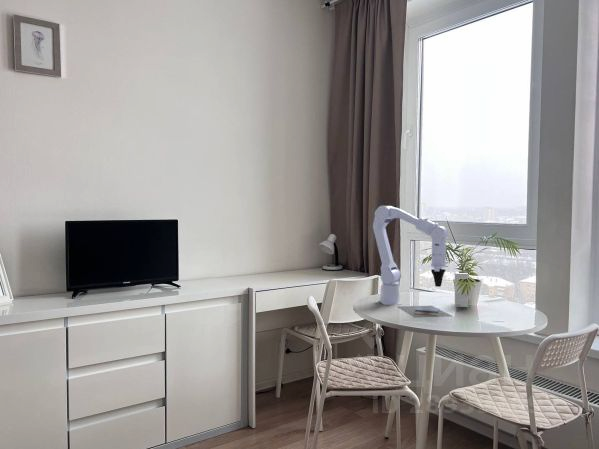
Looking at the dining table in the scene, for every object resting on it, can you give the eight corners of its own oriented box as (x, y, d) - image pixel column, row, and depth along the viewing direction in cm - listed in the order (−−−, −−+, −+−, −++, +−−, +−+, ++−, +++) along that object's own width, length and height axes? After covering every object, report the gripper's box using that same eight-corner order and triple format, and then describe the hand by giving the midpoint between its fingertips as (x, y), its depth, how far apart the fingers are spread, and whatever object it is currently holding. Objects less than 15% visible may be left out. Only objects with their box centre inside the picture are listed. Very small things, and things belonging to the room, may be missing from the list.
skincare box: (468, 308, 200) (469, 274, 199) (453, 307, 202) (454, 273, 201) (469, 304, 207) (470, 271, 207) (455, 303, 210) (456, 270, 209)
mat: (396, 307, 200) (396, 306, 200) (431, 306, 203) (431, 305, 203) (414, 318, 181) (414, 317, 181) (453, 317, 183) (453, 316, 183)
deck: (416, 310, 193) (414, 313, 187) (416, 306, 193) (414, 309, 187) (439, 312, 189) (437, 315, 184) (439, 308, 189) (437, 311, 184)
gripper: (447, 256, 188) (446, 289, 188) (449, 253, 201) (449, 284, 202) (429, 255, 190) (428, 288, 191) (433, 252, 204) (432, 283, 204)
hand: (438, 286), depth 196 cm, fingers closed
